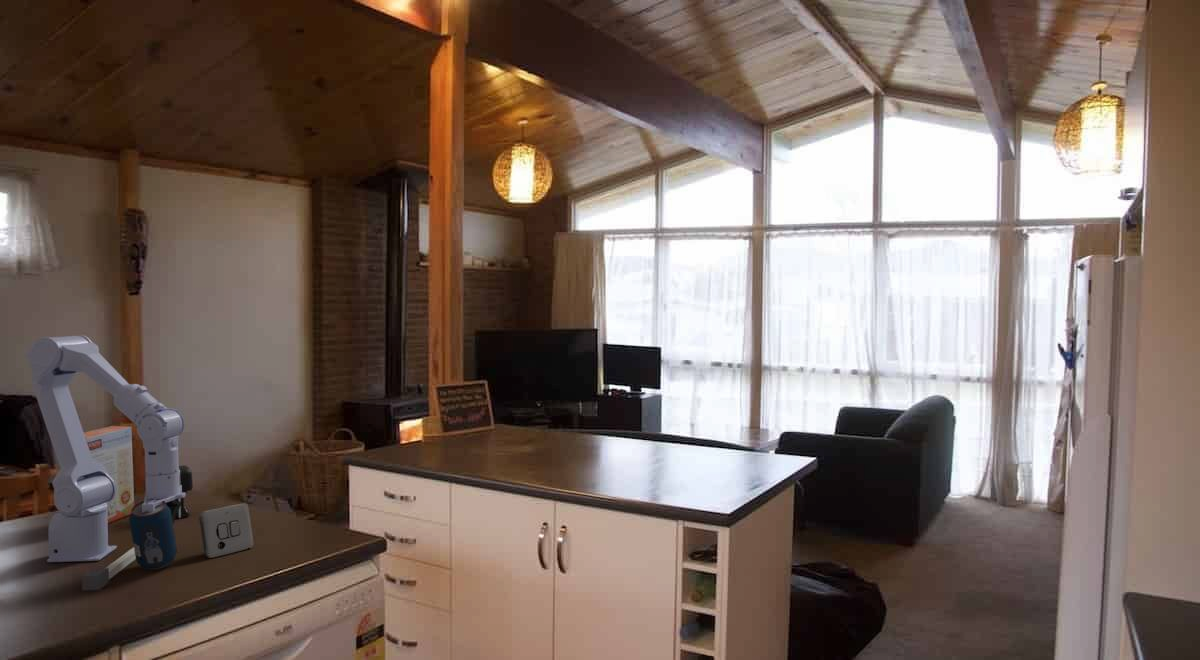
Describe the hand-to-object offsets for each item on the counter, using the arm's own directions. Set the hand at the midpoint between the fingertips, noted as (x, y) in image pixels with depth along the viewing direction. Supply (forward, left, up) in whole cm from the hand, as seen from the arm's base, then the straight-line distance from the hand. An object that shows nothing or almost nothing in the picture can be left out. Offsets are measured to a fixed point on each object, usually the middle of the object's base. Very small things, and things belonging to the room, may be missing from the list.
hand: (163, 540), depth 156 cm
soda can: (0, -3, -3) cm, 4 cm away
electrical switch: (+10, +4, -4) cm, 12 cm away
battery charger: (-8, +32, -4) cm, 34 cm away
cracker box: (-24, +28, -4) cm, 38 cm away
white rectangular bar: (-7, -3, -4) cm, 8 cm away
